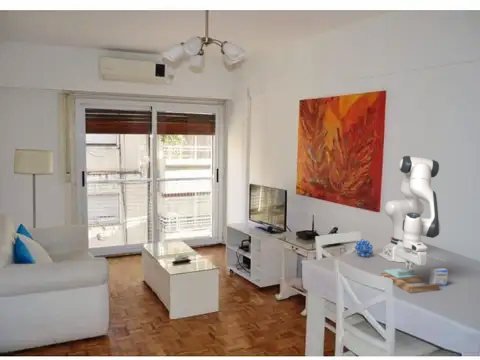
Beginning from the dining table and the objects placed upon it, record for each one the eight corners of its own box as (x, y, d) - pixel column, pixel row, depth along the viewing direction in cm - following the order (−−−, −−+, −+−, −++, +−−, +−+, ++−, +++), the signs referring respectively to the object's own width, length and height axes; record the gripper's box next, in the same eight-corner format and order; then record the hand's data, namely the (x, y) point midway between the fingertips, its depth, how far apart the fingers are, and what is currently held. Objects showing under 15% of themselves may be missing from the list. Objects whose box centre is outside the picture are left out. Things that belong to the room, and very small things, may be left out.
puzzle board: (380, 278, 245) (381, 272, 245) (406, 275, 252) (407, 270, 251) (411, 293, 223) (411, 287, 223) (439, 290, 229) (439, 284, 229)
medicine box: (434, 286, 235) (435, 270, 234) (428, 283, 239) (430, 268, 238) (447, 285, 237) (448, 270, 236) (441, 282, 241) (442, 267, 240)
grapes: (355, 258, 283) (356, 240, 282) (353, 255, 290) (354, 237, 289) (373, 259, 283) (375, 241, 281) (371, 256, 289) (372, 238, 288)
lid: (383, 271, 248) (383, 266, 247) (401, 269, 252) (401, 264, 252) (398, 278, 236) (398, 273, 236) (417, 276, 240) (417, 271, 240)
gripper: (393, 239, 244) (391, 263, 245) (420, 249, 224) (417, 275, 226) (403, 238, 246) (401, 262, 247) (429, 248, 227) (427, 274, 228)
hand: (409, 268), depth 237 cm, fingers closed
